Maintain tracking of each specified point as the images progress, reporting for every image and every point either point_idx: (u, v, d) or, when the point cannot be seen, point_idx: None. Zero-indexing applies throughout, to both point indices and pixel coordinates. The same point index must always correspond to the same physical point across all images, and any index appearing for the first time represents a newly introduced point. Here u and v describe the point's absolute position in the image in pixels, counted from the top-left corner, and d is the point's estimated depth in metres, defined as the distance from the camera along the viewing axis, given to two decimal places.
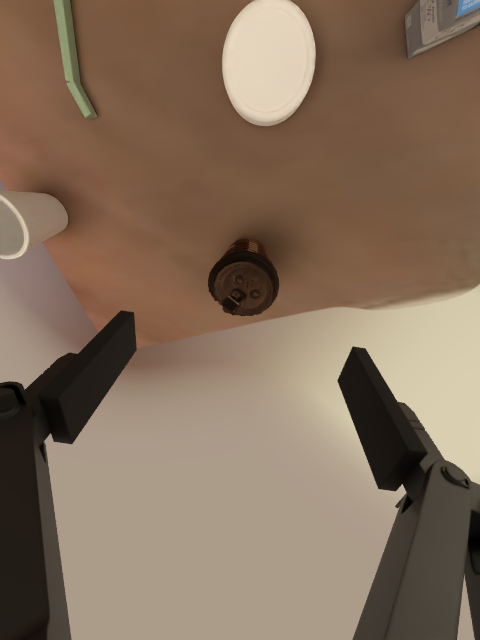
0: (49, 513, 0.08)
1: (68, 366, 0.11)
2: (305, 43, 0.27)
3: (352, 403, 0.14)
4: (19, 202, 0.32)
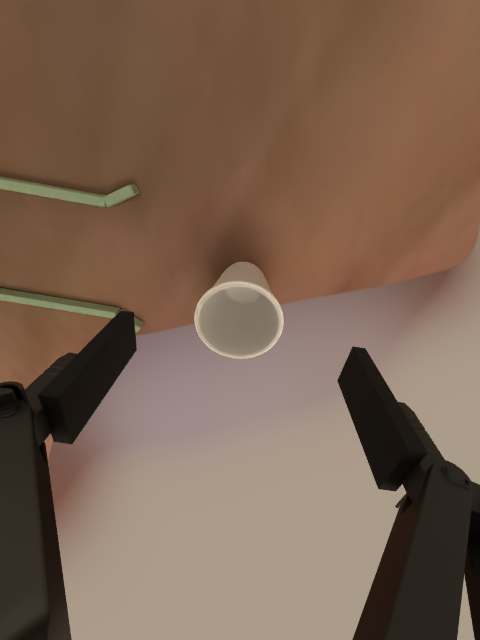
0: (49, 513, 0.08)
1: (68, 366, 0.11)
2: None
3: (352, 404, 0.14)
4: (215, 285, 0.24)
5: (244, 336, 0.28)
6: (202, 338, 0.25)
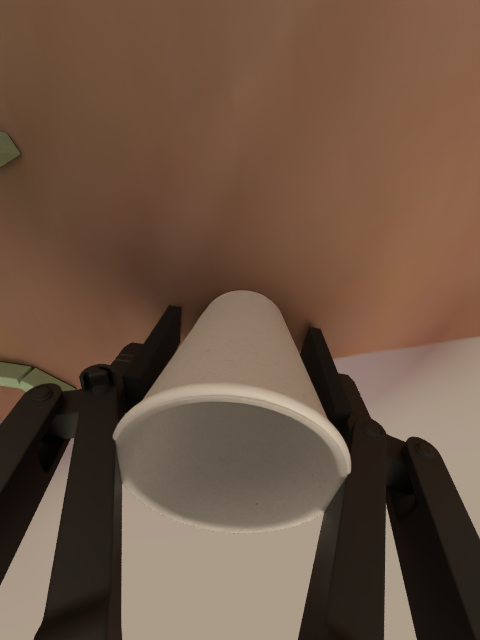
0: (119, 490, 0.08)
1: (139, 353, 0.12)
2: None
3: None
4: (166, 373, 0.09)
5: (245, 457, 0.13)
6: (140, 499, 0.10)
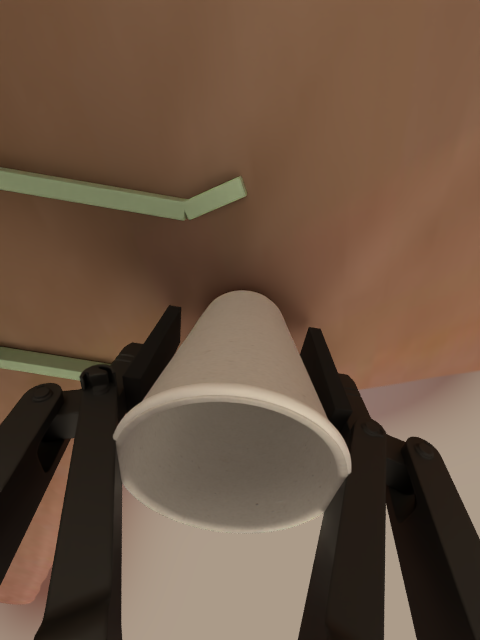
0: (119, 490, 0.08)
1: (139, 353, 0.12)
2: None
3: None
4: (166, 374, 0.09)
5: (245, 457, 0.13)
6: (140, 499, 0.10)
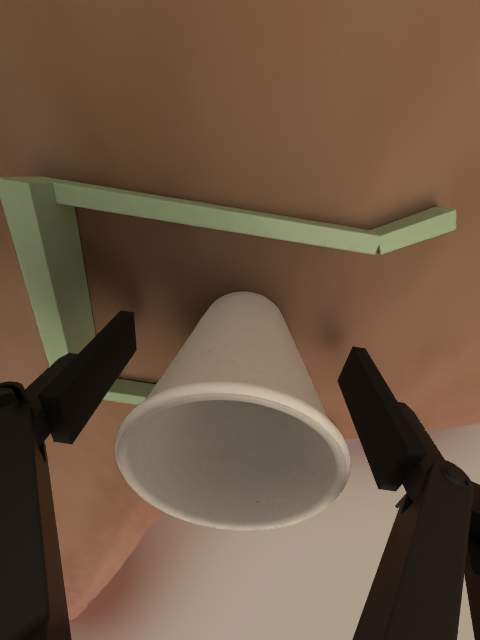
0: (49, 513, 0.08)
1: (68, 366, 0.11)
2: None
3: (352, 403, 0.14)
4: (169, 373, 0.10)
5: (246, 455, 0.13)
6: (143, 496, 0.10)
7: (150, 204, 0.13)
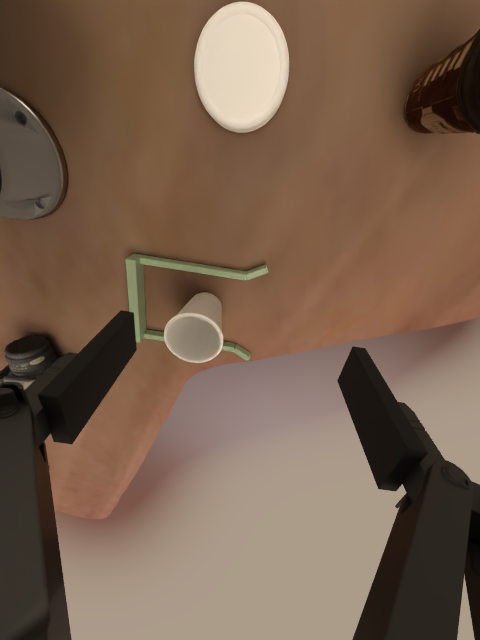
0: (49, 513, 0.08)
1: (68, 366, 0.11)
2: (226, 18, 0.25)
3: (352, 404, 0.14)
4: (177, 314, 0.36)
5: (202, 347, 0.40)
6: (170, 349, 0.37)
7: (170, 264, 0.40)
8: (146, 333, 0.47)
